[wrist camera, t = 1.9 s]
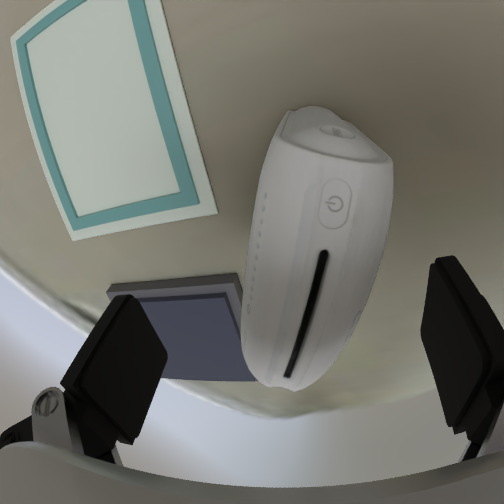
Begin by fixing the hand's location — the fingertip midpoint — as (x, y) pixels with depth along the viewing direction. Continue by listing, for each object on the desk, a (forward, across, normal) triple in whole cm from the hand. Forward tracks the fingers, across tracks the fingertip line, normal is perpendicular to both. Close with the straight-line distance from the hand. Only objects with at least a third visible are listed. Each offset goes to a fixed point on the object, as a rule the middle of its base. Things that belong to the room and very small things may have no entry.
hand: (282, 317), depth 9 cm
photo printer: (+12, -1, 0) cm, 12 cm away
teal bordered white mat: (+12, +12, -9) cm, 19 cm away
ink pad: (+12, +11, +12) cm, 20 cm away
